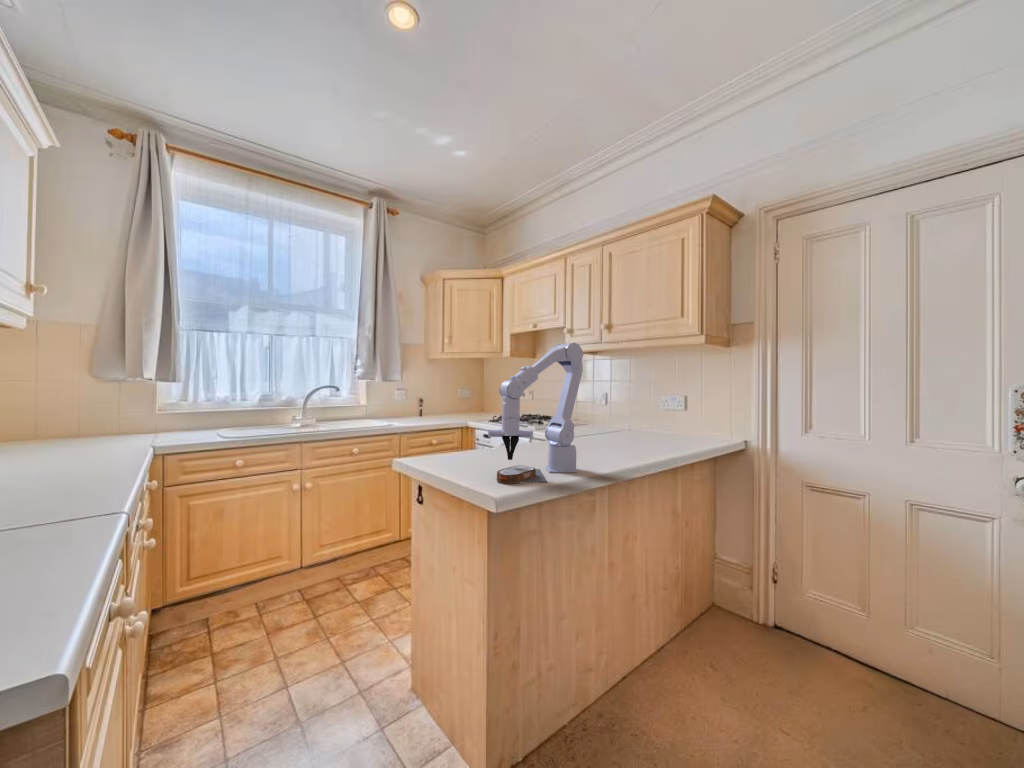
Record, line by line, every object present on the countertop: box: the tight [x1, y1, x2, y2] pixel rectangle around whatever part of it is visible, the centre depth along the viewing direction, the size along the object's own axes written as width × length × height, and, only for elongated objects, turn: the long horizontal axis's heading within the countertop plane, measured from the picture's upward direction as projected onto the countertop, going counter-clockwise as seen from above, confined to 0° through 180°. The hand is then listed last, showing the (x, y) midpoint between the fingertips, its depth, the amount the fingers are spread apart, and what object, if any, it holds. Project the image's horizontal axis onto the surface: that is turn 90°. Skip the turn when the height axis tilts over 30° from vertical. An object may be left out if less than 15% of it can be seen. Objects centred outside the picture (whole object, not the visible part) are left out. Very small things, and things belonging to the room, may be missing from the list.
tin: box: [496, 464, 536, 484], centre depth 130 cm, size 15×3×8 cm
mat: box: [523, 468, 548, 484], centre depth 134 cm, size 11×17×1 cm, turn 4°
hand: (510, 459), depth 134 cm, fingers closed
